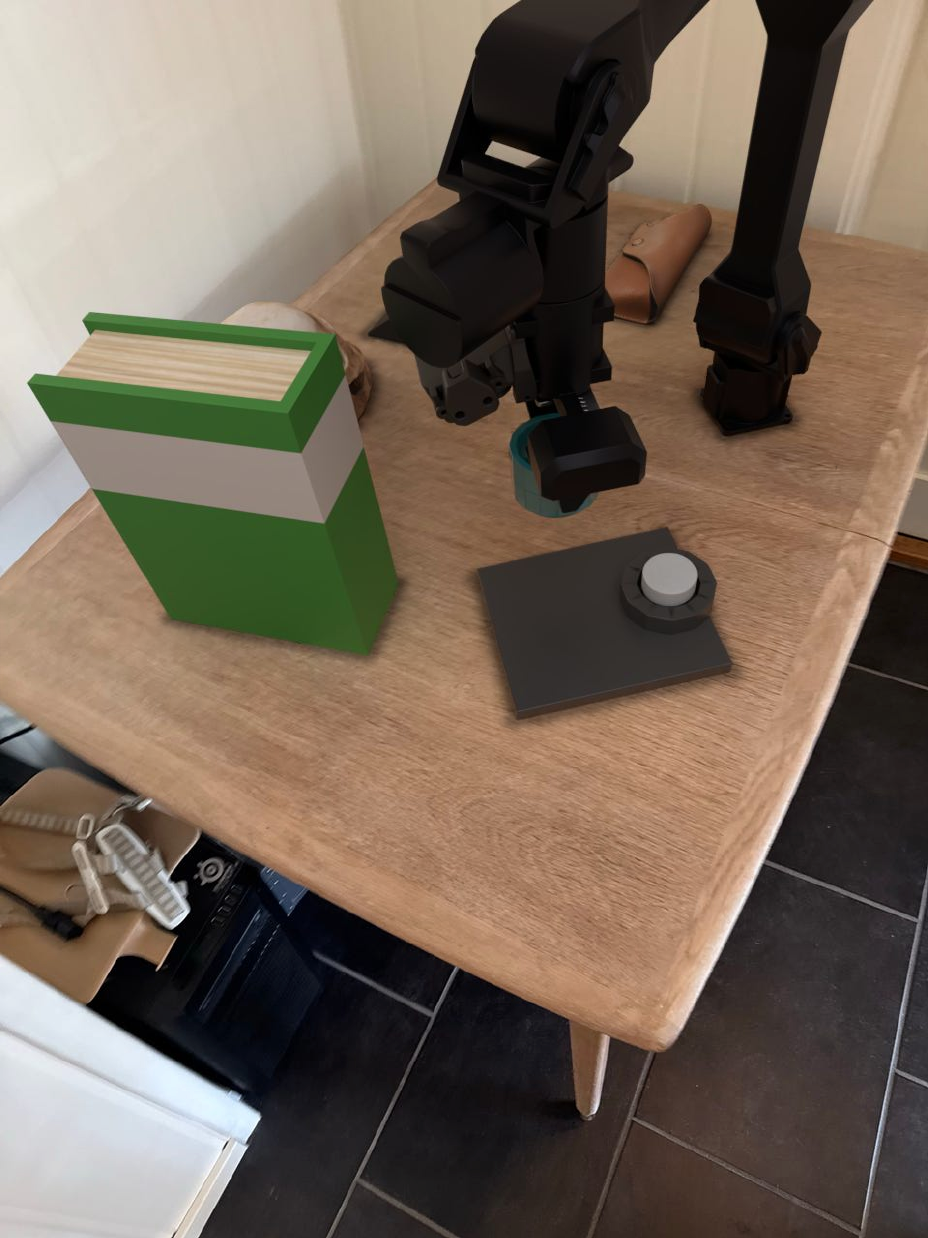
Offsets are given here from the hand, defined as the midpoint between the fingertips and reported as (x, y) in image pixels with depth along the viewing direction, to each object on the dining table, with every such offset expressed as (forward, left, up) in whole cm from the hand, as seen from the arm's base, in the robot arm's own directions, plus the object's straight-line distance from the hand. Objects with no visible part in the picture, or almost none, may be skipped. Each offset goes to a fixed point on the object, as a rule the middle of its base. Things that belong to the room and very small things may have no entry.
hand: (557, 478), depth 62 cm
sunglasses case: (-21, -39, -12) cm, 46 cm away
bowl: (0, 0, -1) cm, 1 cm away
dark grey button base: (-2, +5, -11) cm, 12 cm away
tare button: (-7, +5, -9) cm, 12 cm away
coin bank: (+19, -27, -12) cm, 35 cm away
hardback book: (+22, -4, -12) cm, 25 cm away
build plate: (+4, -41, -12) cm, 43 cm away
